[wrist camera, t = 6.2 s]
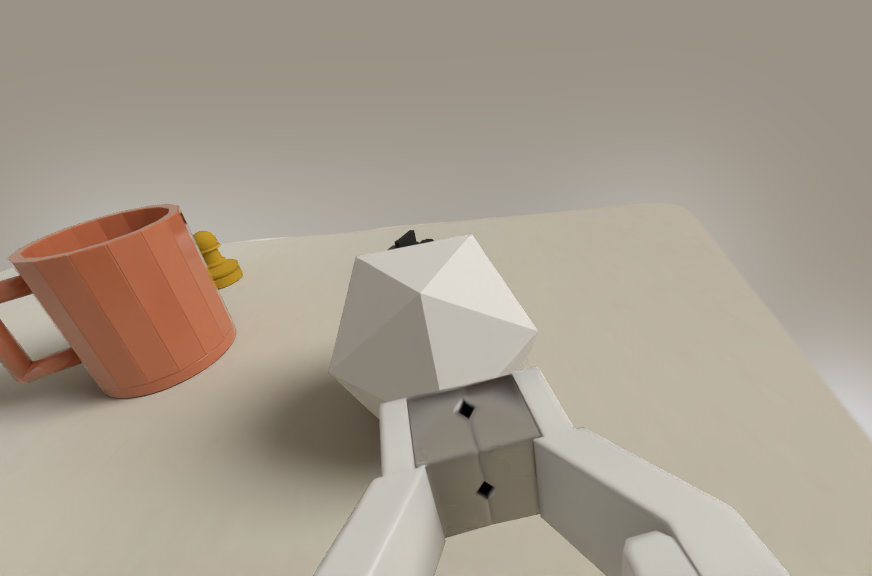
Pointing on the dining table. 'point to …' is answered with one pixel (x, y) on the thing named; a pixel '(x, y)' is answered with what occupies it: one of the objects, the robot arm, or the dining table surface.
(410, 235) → the block figure
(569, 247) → the dining table surface
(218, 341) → the mug
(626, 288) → the dining table surface
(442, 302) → the die
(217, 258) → the chess piece
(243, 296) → the dining table surface
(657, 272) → the dining table surface
